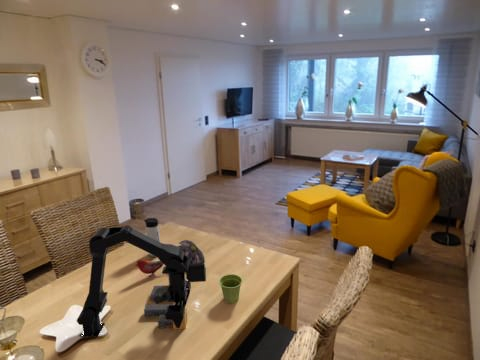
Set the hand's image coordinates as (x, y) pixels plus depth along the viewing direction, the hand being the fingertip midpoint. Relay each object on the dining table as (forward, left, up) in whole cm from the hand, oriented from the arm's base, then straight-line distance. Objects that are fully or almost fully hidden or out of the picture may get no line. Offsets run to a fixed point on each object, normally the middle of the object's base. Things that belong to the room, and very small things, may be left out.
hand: (180, 318), depth 123 cm
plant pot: (+15, -18, -3) cm, 23 cm away
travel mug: (+53, +23, -3) cm, 57 cm away
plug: (0, +3, -2) cm, 4 cm away
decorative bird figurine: (+34, +18, -3) cm, 38 cm away
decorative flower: (+44, +3, -3) cm, 44 cm away
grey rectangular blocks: (+12, +9, -3) cm, 16 cm away
